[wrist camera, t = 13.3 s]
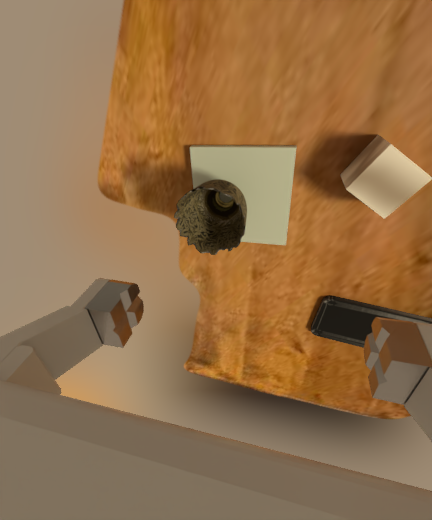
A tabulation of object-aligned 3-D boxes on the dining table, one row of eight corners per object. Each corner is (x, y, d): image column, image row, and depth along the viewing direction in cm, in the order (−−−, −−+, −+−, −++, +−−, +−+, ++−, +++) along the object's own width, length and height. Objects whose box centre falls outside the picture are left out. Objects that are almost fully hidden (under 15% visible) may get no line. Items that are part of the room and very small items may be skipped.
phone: (325, 297, 39) (440, 324, 37) (324, 292, 40) (437, 318, 38) (309, 334, 44) (410, 360, 42) (309, 329, 45) (408, 354, 43)
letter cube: (378, 134, 28) (390, 144, 24) (414, 163, 29) (432, 178, 25) (338, 175, 31) (344, 190, 27) (372, 201, 32) (383, 219, 28)
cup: (207, 227, 38) (188, 259, 31) (189, 174, 34) (162, 198, 28) (261, 217, 35) (252, 250, 29) (247, 158, 31) (233, 181, 25)
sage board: (192, 145, 33) (189, 146, 32) (296, 145, 31) (296, 147, 30) (199, 234, 40) (197, 237, 39) (286, 241, 37) (285, 245, 36)
